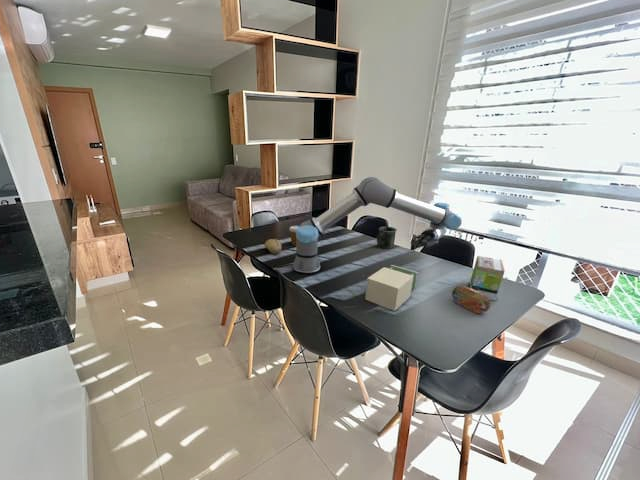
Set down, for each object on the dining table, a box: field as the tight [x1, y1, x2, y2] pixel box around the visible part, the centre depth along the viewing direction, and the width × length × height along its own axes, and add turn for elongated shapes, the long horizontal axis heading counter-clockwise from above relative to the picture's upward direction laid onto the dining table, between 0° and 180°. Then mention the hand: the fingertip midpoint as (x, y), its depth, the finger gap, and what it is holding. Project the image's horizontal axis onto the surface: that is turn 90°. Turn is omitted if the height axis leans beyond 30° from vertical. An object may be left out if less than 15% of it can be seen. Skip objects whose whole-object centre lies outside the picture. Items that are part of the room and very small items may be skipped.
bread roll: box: [264, 238, 283, 255], centre depth 186 cm, size 10×15×8 cm, turn 28°
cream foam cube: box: [364, 266, 413, 312], centre depth 128 cm, size 16×14×11 cm
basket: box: [388, 264, 419, 291], centre depth 135 cm, size 19×13×9 cm, turn 135°
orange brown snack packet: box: [451, 285, 492, 314], centre depth 121 cm, size 15×3×8 cm, turn 23°
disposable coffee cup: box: [288, 225, 300, 247], centre depth 197 cm, size 10×10×12 cm
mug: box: [376, 226, 397, 250], centre depth 189 cm, size 11×15×12 cm
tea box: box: [469, 255, 505, 301], centre depth 132 cm, size 15×10×15 cm, turn 148°
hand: (412, 247), depth 137 cm, fingers closed
